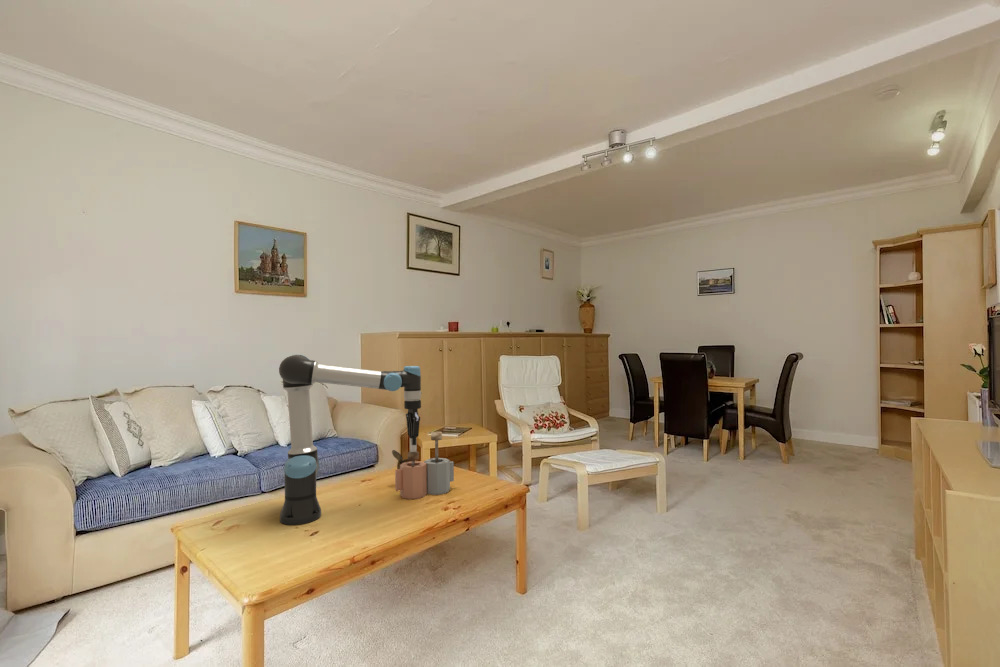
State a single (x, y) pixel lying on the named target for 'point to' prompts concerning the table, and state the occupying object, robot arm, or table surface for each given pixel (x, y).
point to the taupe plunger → (413, 457)
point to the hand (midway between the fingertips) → (413, 451)
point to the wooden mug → (399, 458)
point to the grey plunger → (436, 442)
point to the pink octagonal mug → (411, 480)
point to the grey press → (439, 475)
